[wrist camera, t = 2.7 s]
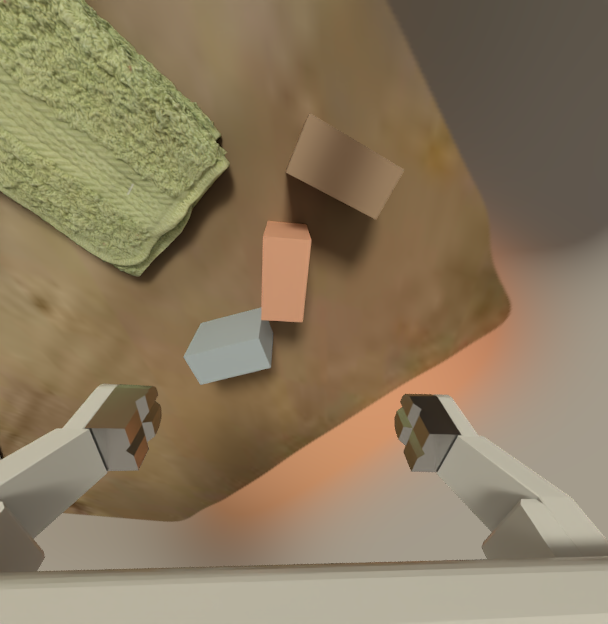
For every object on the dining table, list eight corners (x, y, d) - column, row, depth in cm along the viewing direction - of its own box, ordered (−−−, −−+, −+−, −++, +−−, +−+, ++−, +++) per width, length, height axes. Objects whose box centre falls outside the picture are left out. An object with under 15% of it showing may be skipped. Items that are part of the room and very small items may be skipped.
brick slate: (263, 306, 25) (258, 337, 20) (273, 333, 26) (270, 367, 22) (201, 322, 25) (183, 356, 21) (214, 348, 27) (200, 384, 22)
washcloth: (149, 278, 23) (130, 295, 20) (-120, 95, 17) (-202, 82, 14) (245, 151, 19) (238, 149, 16) (-60, -159, 13) (-159, -251, 10)
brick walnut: (378, 167, 20) (404, 169, 15) (357, 207, 21) (376, 219, 17) (304, 124, 18) (309, 113, 14) (285, 169, 20) (286, 172, 15)
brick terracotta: (299, 293, 24) (302, 322, 20) (265, 291, 24) (261, 320, 20) (306, 224, 21) (311, 240, 17) (268, 220, 21) (263, 236, 17)
